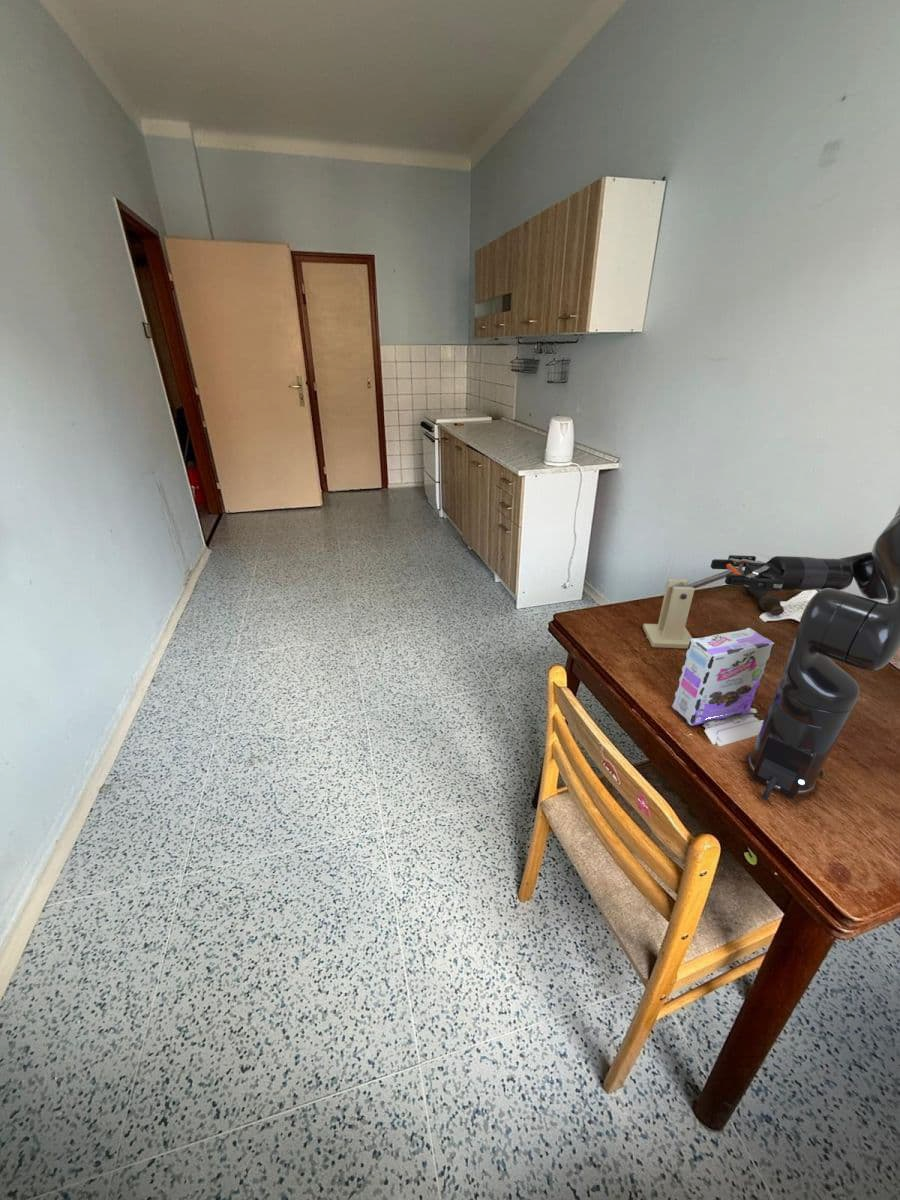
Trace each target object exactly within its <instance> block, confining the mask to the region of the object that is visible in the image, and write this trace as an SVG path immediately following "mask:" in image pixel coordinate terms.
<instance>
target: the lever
mask: <svg viewBox="0 0 900 1200" xmlns="http://www.w3.org/2000/svg"><path fill="white" fill-rule="evenodd" d="M726 568H727V569H726V570H724V571H722V572H719V573H716V574H714V575H711V576H708V577H705V578H703V579H700V580H697V581H694V582H691V583H688V585H686V586H685V585H684V584H683V583H680V584H677V585H674V586H672V587H671V590H672V591H673V587H693V588H694V589H695V590H696V589H698V588H700V587H703V586H707V585H709V584H712V583H714V582H717V581H720V580H723V579H726V576H727V575H728V574H741V573H740V572H739V571H738V570H737V569H736V568H735V567H734V566H732V565H731V564H730V563H729V564H727V565H726ZM741 575H742V574H741Z"/></svg>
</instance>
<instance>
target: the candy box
mask: <svg viewBox="0 0 900 1200" xmlns="http://www.w3.org/2000/svg"><path fill="white" fill-rule="evenodd" d="M692 638H693V639H690V642H689V646H688V649H687V650H686V653H685V656H684V661H683V664H682V668H681V671H680V675H679V679H678V682H677V686H676V689H675V691H674V692H675V693H674V696H673V700H672V702H671V708H672V709H673V710H674V711H675V712H676V713H677V714H678V715H679V716H680V717H681V718H682V719H683V720H684V721H685V722H686V723H687V724H689V725H690V726H691V727H693V726H696V725H701V724H705V723H709V722H714V721H717V720H722V719H726V718H731V717H735V716H738V715H743V714H747V713H750V711H751V709H752V706H753V703H754V700H755V698H756V695H757V692H758V689H759V687H760V684H761V681H762V678H763V676H764V673H765V670H766V667H767V665H768V662H769V659H770V656H771V654H772V651H773V648H774V646H775V642H773V641H772V640H770V639H769V638H767V637H765V636H764V635H762V634H760V632H758V631H756V630H754V629H752V628H751V627H746V628H744V629H739V630H733V631H729V632H728V631H727V632H722V633H717V634H712V635H706V636H701V637H697V638H695V637H692ZM726 714H727V715H726ZM720 715H723V716H720ZM714 716H719V717H715V718H711V719H707V720H705V719H706V718H708V717H714Z"/></svg>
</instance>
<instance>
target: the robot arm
mask: <svg viewBox="0 0 900 1200" xmlns="http://www.w3.org/2000/svg"><path fill="white" fill-rule="evenodd" d="M729 563H730V564H731V565H732V566H734V567H735V568H736V569H737V570H738V571H739V572H740V573H741V574H742V575H741V574H728V575H727V576H726V578H724V583H725V584H726V585H729V586H742V585H744V586H745V587H751V590H753V591H768V592H781V591H803V592H805V591H817V592H816V593H814V595H813V596H812V597H811V598H810V600H809V601H808V602H807V604H806V605H805V608H804V609H803V612H802V614H801V617H800V620H799V623H798V626H797V629H796V632H795V636H794V639H793V641H792V642H793V643H792V644H791V645H792V646H791V649H790V652H789V654H788V658H787V660H786V663H785V665H784V668H783V672H782V674H781V676H780V679H779V682H778V684H777V687H776V690H775V692H774V695H773V697H772V699H771V702H770V704H769V706H768V709H767V712H766V715H765V717H764V720H763V723H762V725H761V727H760V730H759V732H758V735H757V737H756V739H755V741H754V746H753V748H752V750H751V751H750V753H749V756H748V759H747V765H748V769H749V770H750V772H751V779H753V780H755V781H757V782H759V783H761V784H763V785H765V786H766V787H765V789H764V791H763V793H762V795H761V798H762V800H764V801H768V800H769V798H770V796H771V794H772V792H773V790H774V791H776V792H778V793H780V794H782V795H784V796H785V797H788V798H789V799H791V800H795V799H796V797H798V796H805V795H808V794H810V793H811V792H813V790H814V788H815V787H816V784H817V780H818V778H819V779H820V780H822V778H823V776H824V773H825V772H824V771H823V769H824V767H825V765H826V763H827V760H828V758H829V757H830V755H831V753H832V750H833V749H834V747H835V744H836V743H837V741H838V739H839V737H840V735H841V733H842V731H843V729H844V727H845V725H846V723H847V721H848V719H849V718H850V715H851V714H852V711H853V709H854V707H855V706H856V704H857V702H858V700H859V697H860V691H861V690H860V686H859V684H858V682H857V681H856V680H855V678H854V677H852V676H851V675H850V674H849V673H848V672H847V671H845V670H844V669H843V668H841V666H839V665H838V664H836V662H834V660H835V661H838V662H840V663H842V664H846V665H849V666H850V667H853V668H856V669H860V670H863V671H867V672H876V671H878V670H881V669H882V668H884V667H886V666H887V665H888V664H889V663H890V662H891V661H892V660H893V659H894V657H895V656H896V654H897V653H898V652H899V650H900V504H899V505H898V508H897V510H896V512H895V514H894V516H893V517H892V519H891V520H890V522H889V523H887V525H886V526H885V527H884V529H883V530H882V532H880V534H879V536H878V537H877V538H876V539H875V541H874V543H873V546H872V548H871V551H868V552H862V553H859V554H856V555H851V556H849V555H848V556H844V557H840V558H827V557H826V558H825V557H823V558H821V557H811V556H792V555H791V556H787V555H786V556H785V555H784V556H783V555H776V556H773V557H772V558H770V559H768V561H766V562H764V561H761V560H757V556H755V555H737V554H736V555H735V554H729V555H728V558H727V559H721V558H720V559H719V558H717V559H716V558H714V559H712V560H711V563H710V568H711V569H712V570H728V569H727V568H726V565H727V564H729ZM743 569H744V570H743ZM853 580H854V582H855V583H856V585H857V588H858V591H859V592H860V593H861V594H862V596H860V595H857V594H854V593H851V592H847V591H844V590H846V589H847V588H849V587H850V586H851V585H852V583H853ZM760 584H761V585H763V586H762V587H758V586H759V585H760ZM882 600H886V602H887V603H884V602H881V601H882Z"/></svg>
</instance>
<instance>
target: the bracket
mask: <svg viewBox="0 0 900 1200" xmlns="http://www.w3.org/2000/svg"><path fill="white" fill-rule="evenodd" d="M680 583H683V584H684V585H685V586H686V585H688V584H689V580H688V579H677V578H676V579H675V578H668V579H667V581H666V587H665V590H664V596H663V599H662V605H661V609H660V614H659V618H658V622H657V623H642V630H643V631H644V633H645V635H646V638H647V639H648V641H649V644H650V645H651V647H652V648H662V649H663V648H664V649H665V648H666V649H688V646H689V642H690V639H693V638H694V637H693V636H692V635H691V632H689V630H688V629H687V627H686V625H687V621H688V617H689V613H690V609H691V605H692V602H693V597H694V594H695V590H696V588H695V589H694V588H693V587H673V591H672V590H671V587H672V586H674V585H677V584H680Z"/></svg>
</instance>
